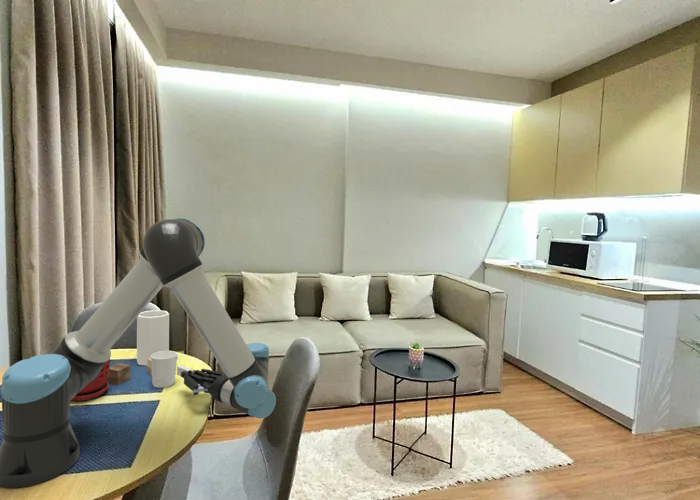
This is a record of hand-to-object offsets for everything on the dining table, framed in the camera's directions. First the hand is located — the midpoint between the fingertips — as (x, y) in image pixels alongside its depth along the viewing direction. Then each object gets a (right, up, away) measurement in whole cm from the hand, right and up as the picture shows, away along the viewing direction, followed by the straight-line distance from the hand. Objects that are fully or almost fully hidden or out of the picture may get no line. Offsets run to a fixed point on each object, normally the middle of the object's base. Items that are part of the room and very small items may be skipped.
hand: (179, 370), depth 126 cm
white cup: (-7, -6, +5) cm, 11 cm away
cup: (-20, -4, +24) cm, 31 cm away
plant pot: (-27, -6, -5) cm, 28 cm away
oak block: (-14, -5, +14) cm, 20 cm away
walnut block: (-23, -5, +5) cm, 24 cm away
